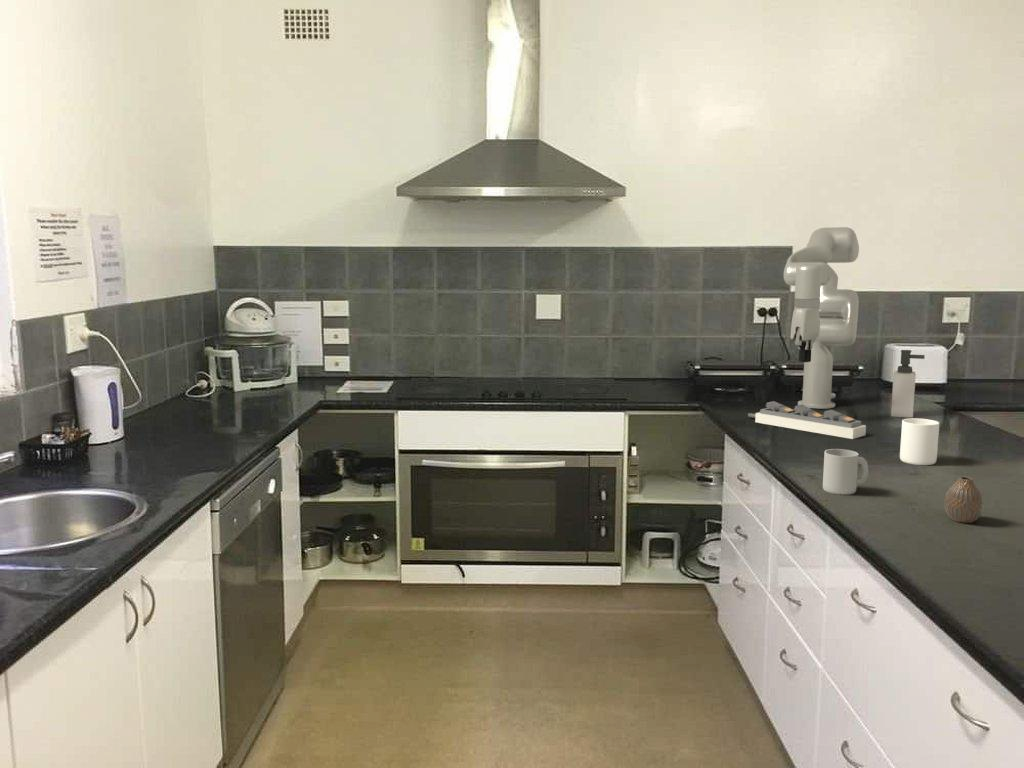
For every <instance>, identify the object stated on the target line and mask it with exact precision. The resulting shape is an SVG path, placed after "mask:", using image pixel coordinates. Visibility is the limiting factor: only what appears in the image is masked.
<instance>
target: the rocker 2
mask: <svg viewBox="0 0 1024 768" xmlns="http://www.w3.org/2000/svg"><path fill="white" fill-rule="evenodd" d="M793 410H795V411H797V412H799V413H801V414H803V415H804V416H808V417H814V418H821V417H824V416H823V415H824V414H821V413H820V412H818V411H815V409H814V408H808V407H807V406H805V405H803V404H801V405H798V404H797V405H795V406H794V409H793Z"/></svg>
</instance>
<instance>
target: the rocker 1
mask: <svg viewBox="0 0 1024 768" xmlns="http://www.w3.org/2000/svg"><path fill="white" fill-rule="evenodd" d="M765 408H770V409H772V410H775V411H776V412H782V413H793V412H795V410H794V409H793V408H790V407H789V406H786V404H781V403H780V402H776V401H774V400H773V401H769V402H768V401H767V402H766V404H765Z"/></svg>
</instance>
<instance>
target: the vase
mask: <svg viewBox="0 0 1024 768" xmlns="http://www.w3.org/2000/svg"><path fill="white" fill-rule="evenodd" d="M984 504H985V502H984V497H983V494H982V492H981V490H980V489H979V488H978V486H977V485H976V484H975V481H974V479H973V478H972V477H970V476H960V477H958V478H957V480H956V481H955V482H954V483H953V484H952V485H951V486H950V487H949V488H948V490H946V494H945V496H944V510H945V512H946V514H947V515H948V517H949V518H950V519H951V520H952V521H955V522H957V523H961V524H962V523H963V524H970V523H974V522H975V521H977V520H978V519H979V518H980V517H981V515H982V514H983V511H984Z"/></svg>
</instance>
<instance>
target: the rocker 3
mask: <svg viewBox="0 0 1024 768" xmlns="http://www.w3.org/2000/svg"><path fill="white" fill-rule="evenodd" d="M822 415H823V416H826V417H828V418H831V419H833V420H834V421H839V422H846V423H851V422H855V420H856V419H855V418H853V417H851V416H848V415H846V414H845V413H841V412H838V411H836V410H834V409H828V410H825V411H824V412H823V414H822Z"/></svg>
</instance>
